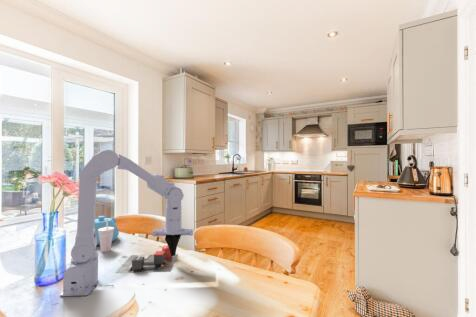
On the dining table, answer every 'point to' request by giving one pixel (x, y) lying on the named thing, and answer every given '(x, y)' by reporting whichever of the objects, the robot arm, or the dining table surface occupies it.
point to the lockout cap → (167, 252)
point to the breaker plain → (137, 263)
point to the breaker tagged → (159, 257)
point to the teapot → (102, 223)
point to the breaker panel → (147, 264)
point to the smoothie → (105, 237)
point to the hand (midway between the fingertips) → (173, 254)
